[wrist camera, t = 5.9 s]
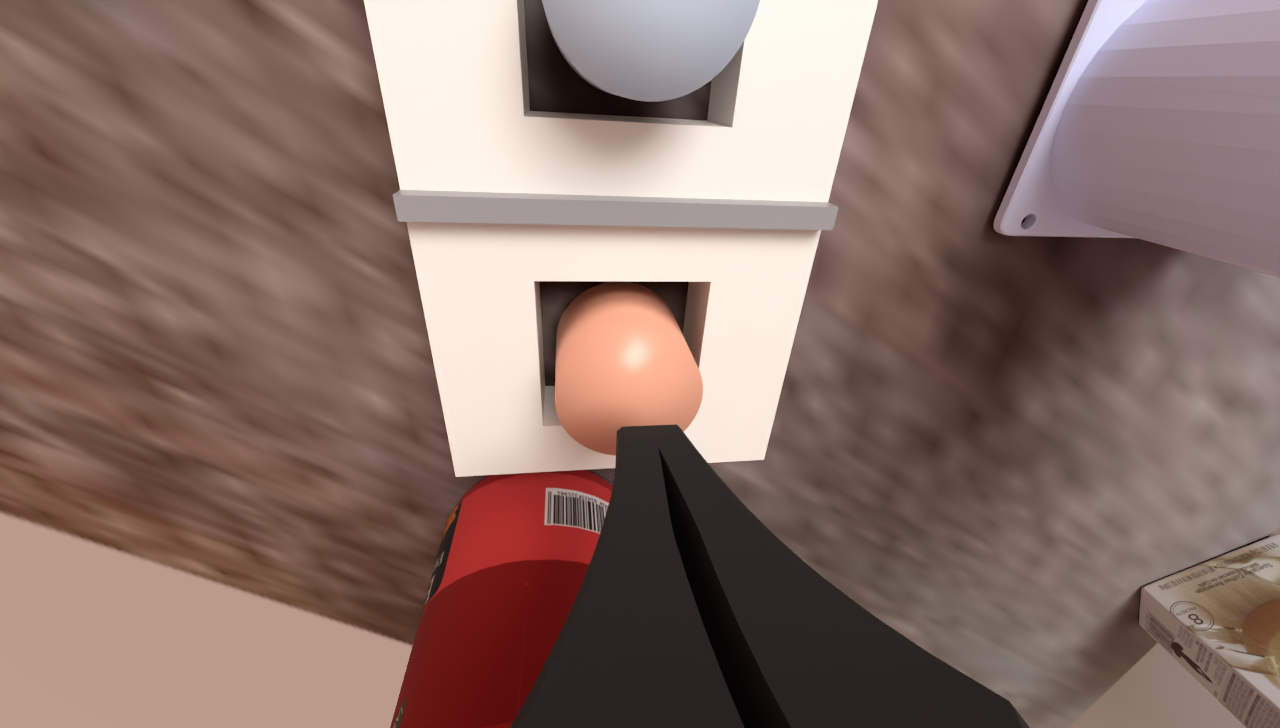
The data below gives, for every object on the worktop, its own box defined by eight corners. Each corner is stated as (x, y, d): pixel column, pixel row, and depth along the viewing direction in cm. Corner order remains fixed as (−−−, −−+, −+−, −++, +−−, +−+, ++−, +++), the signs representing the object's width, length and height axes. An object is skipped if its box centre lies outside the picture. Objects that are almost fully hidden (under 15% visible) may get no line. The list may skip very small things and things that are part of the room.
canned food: (416, 485, 19) (272, 876, 10) (607, 434, 19) (647, 778, 10) (489, 591, 23) (437, 939, 14) (647, 551, 23) (702, 871, 14)
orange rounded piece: (682, 281, 15) (712, 331, 12) (671, 387, 17) (693, 452, 14) (554, 281, 14) (551, 333, 11) (558, 390, 16) (557, 459, 13)
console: (876, -224, 11) (977, -321, 8) (743, 420, 20) (769, 470, 17) (344, -317, 9) (257, -477, 6) (467, 432, 18) (452, 489, 16)
